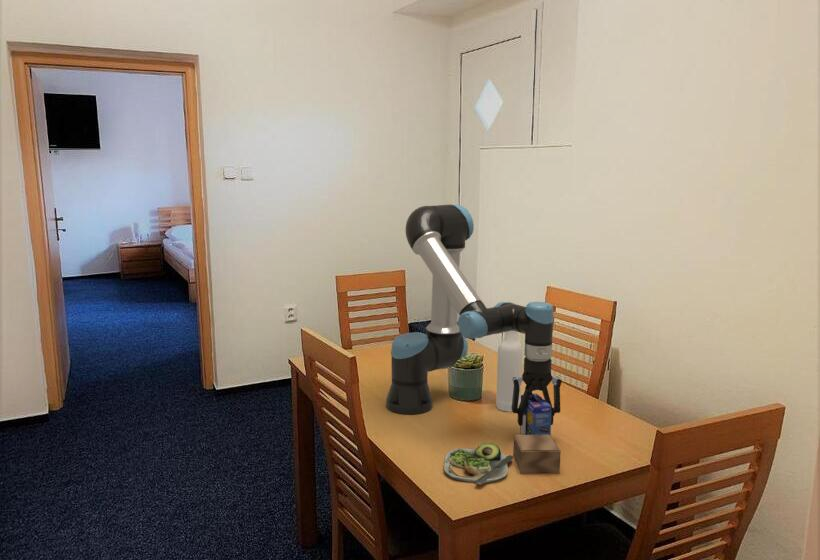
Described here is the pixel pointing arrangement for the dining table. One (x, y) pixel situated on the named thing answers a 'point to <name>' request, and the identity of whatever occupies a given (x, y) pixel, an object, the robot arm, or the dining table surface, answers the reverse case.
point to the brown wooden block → (536, 454)
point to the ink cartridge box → (537, 416)
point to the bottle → (508, 370)
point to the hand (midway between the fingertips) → (534, 435)
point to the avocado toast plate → (478, 463)
